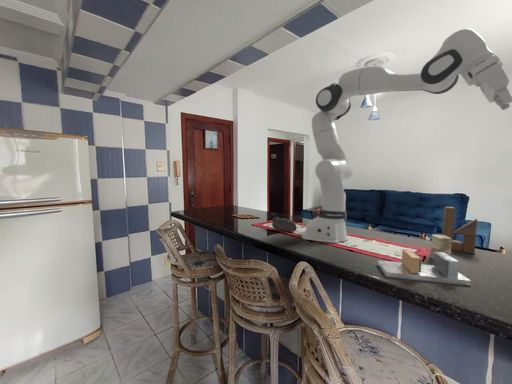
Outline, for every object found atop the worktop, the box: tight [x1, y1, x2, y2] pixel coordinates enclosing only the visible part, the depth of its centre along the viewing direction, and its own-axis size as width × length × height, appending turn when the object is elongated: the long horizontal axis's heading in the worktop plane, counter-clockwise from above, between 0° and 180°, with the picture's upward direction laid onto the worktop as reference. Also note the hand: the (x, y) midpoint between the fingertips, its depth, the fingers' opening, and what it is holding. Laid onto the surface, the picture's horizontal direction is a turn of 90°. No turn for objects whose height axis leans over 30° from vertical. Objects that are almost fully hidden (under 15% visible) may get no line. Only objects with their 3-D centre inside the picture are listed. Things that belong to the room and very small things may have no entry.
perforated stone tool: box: [271, 216, 298, 233], centre depth 128 cm, size 15×5×7 cm, turn 50°
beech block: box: [430, 234, 452, 259], centre depth 85 cm, size 4×5×9 cm
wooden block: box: [441, 206, 478, 255], centre depth 96 cm, size 4×11×18 cm, turn 44°
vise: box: [377, 252, 472, 286], centre depth 73 cm, size 22×10×6 cm, turn 76°
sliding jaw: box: [401, 248, 423, 273], centre depth 73 cm, size 3×8×5 cm, turn 166°
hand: (508, 105), depth 72 cm, fingers open, 8 cm apart
